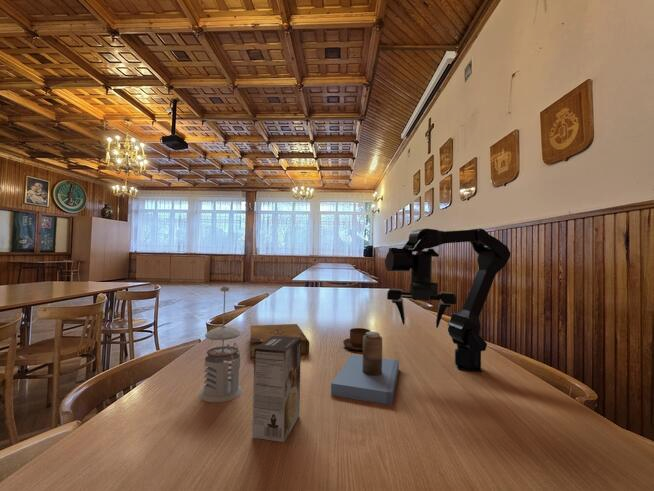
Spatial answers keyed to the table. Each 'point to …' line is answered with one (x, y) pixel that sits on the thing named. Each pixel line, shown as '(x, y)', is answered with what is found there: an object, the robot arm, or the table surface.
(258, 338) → the diary
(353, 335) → the cup and saucer
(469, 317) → the robot arm
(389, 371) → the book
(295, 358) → the coffee box
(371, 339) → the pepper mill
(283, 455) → the table surface
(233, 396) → the french press
